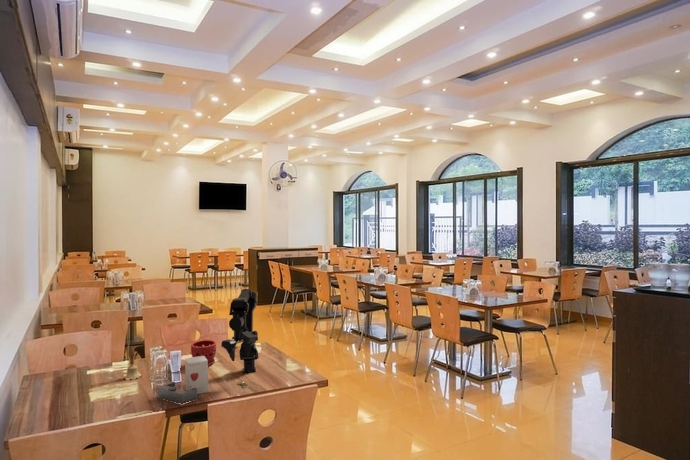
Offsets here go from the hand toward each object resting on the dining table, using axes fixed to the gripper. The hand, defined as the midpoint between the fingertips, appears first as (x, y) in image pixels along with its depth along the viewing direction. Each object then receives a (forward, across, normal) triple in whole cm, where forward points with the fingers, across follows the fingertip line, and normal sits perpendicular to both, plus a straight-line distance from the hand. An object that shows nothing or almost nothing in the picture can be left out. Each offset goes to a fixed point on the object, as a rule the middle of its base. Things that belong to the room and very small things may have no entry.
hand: (240, 358), depth 224 cm
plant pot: (+12, +13, +41) cm, 45 cm away
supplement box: (+13, -15, +13) cm, 24 cm away
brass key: (+13, +1, 0) cm, 13 cm away
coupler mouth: (+13, -26, +13) cm, 32 cm away
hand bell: (+12, -19, +58) cm, 62 cm away
